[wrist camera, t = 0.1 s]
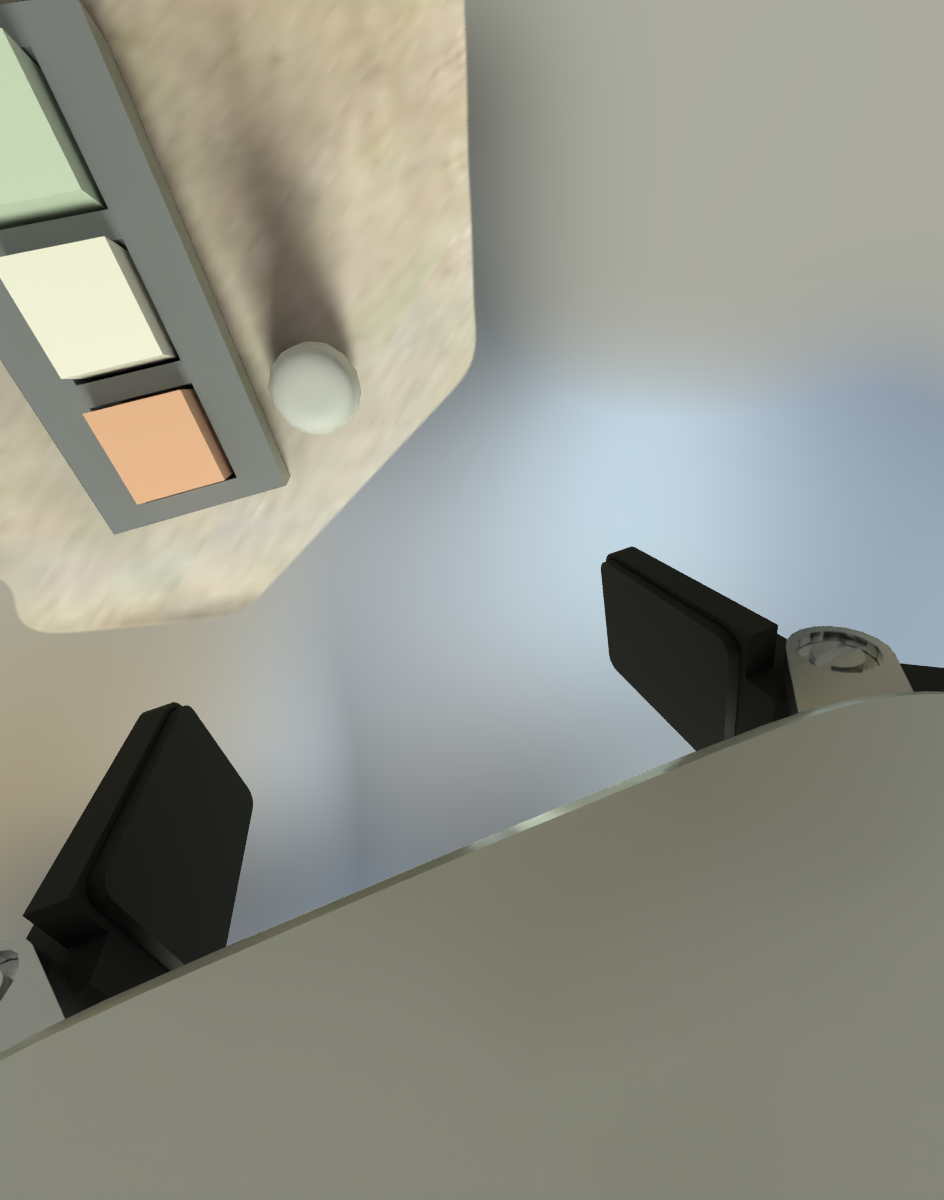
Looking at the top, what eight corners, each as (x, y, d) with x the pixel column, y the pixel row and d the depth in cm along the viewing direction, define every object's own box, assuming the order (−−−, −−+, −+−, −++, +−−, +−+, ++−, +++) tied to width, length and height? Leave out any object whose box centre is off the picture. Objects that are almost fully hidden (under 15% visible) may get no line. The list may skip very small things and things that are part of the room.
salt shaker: (308, 324, 32) (295, 294, 21) (374, 384, 35) (393, 385, 24) (261, 391, 33) (224, 397, 22) (329, 444, 36) (326, 473, 25)
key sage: (-74, 93, 22) (-140, 47, 19) (46, 75, 23) (1, 27, 20) (6, 233, 25) (-40, 212, 22) (111, 212, 26) (81, 189, 23)
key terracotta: (108, 410, 30) (82, 414, 27) (195, 388, 30) (180, 389, 27) (156, 492, 32) (136, 504, 29) (235, 470, 33) (224, 480, 30)
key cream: (30, 273, 26) (-12, 259, 23) (131, 252, 27) (104, 235, 24) (90, 379, 29) (61, 379, 26) (180, 357, 29) (162, 354, 26)
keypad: (-139, 79, 23) (-214, 32, 20) (108, 43, 25) (75, -6, 21) (134, 520, 34) (114, 534, 31) (290, 476, 36) (286, 485, 33)
